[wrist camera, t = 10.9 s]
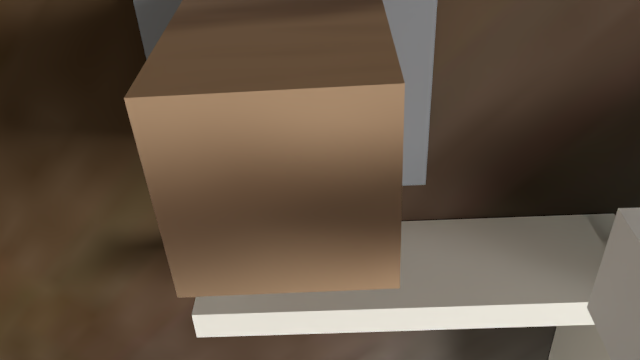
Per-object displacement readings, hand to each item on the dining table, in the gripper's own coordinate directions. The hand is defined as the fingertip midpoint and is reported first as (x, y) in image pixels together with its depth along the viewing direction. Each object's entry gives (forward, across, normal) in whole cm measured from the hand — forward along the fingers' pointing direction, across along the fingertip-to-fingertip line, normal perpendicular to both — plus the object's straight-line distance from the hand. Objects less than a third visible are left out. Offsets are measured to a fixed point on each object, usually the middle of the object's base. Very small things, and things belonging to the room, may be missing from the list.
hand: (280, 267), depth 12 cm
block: (+10, 0, 0) cm, 11 cm away
